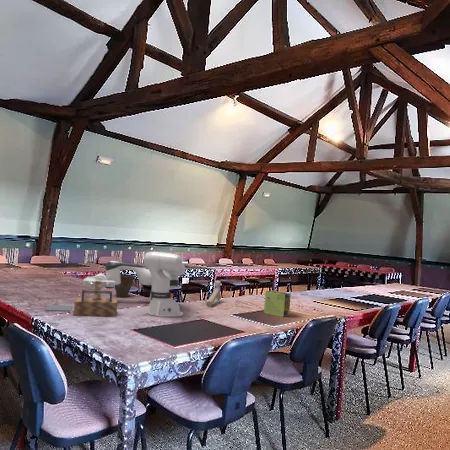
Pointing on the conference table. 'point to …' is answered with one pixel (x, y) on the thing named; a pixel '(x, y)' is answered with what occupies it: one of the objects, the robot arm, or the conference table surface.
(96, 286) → the wooden key
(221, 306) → the conference table surface
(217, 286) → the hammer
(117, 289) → the plant pot
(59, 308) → the slate mat
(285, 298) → the protein box
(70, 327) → the conference table surface
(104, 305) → the toolbox
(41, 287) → the conference table surface
